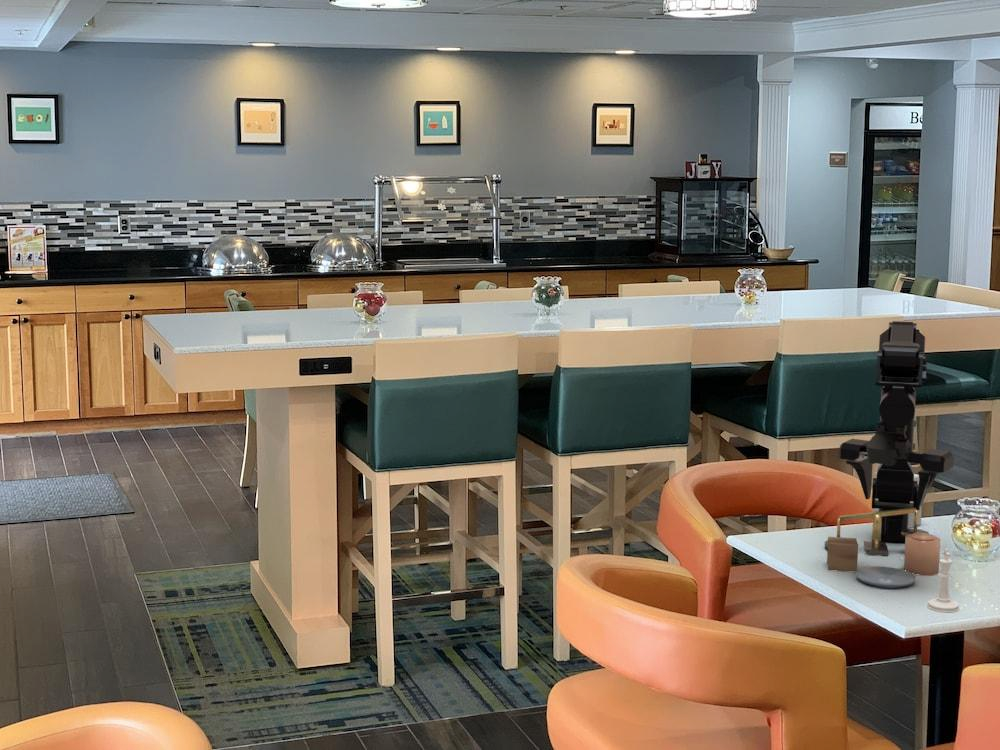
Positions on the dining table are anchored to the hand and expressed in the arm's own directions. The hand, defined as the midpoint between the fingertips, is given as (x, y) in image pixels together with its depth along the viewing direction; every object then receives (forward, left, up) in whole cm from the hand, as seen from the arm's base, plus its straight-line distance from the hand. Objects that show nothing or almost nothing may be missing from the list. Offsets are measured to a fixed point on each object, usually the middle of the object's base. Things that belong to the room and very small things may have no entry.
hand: (893, 502), depth 229 cm
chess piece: (+16, +7, -14) cm, 22 cm away
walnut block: (-4, -8, -14) cm, 16 cm away
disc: (+3, -1, -14) cm, 14 cm away
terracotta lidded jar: (-5, +6, -14) cm, 16 cm away
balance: (-16, -1, -14) cm, 21 cm away
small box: (-38, +5, -14) cm, 41 cm away
